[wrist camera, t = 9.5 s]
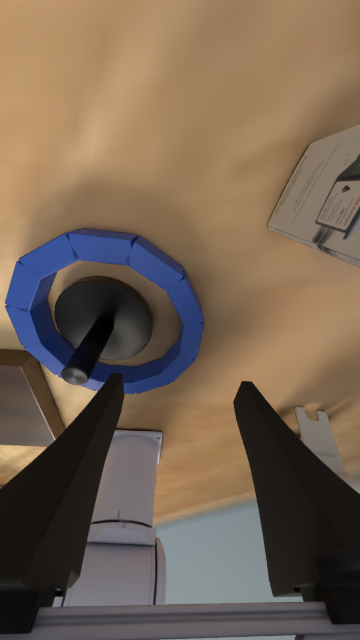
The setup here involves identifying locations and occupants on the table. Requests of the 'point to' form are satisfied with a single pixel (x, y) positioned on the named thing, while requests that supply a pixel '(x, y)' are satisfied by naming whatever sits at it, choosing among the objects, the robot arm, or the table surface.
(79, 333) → the post
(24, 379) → the platform
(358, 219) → the ink box
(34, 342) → the ring
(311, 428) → the tablet stand
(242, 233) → the table surface
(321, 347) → the table surface
